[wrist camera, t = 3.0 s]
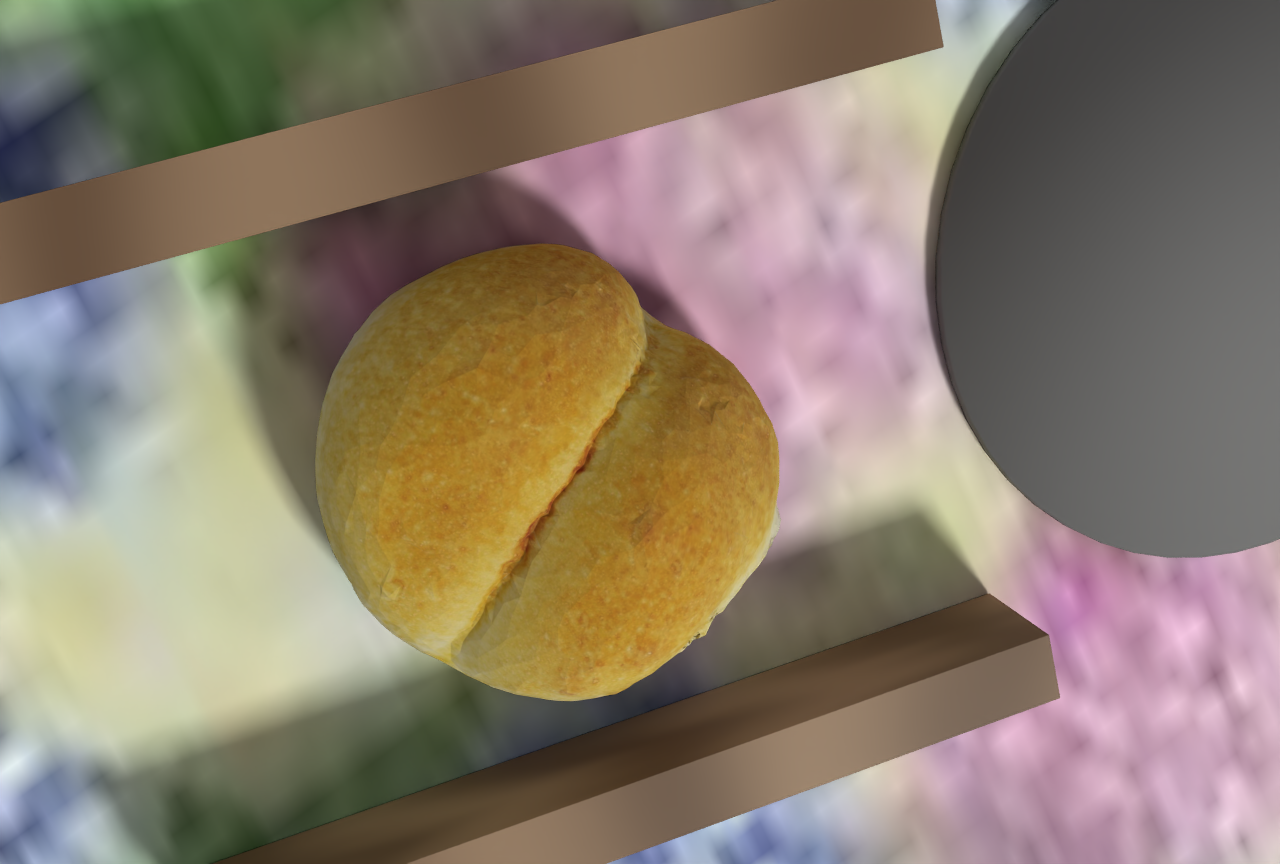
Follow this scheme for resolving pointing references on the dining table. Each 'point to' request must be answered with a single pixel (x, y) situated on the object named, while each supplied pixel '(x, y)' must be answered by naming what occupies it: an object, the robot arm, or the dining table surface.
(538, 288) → the bread roll
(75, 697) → the dining table surface
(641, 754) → the chute
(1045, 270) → the mat
